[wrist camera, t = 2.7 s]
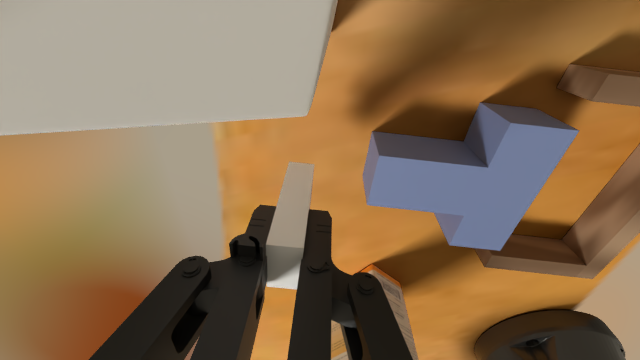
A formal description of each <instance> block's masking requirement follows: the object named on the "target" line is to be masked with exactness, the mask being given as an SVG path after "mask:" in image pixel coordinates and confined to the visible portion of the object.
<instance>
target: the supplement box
mask: <svg viewBox="0 0 640 360" xmlns="http://www.w3.org/2000/svg"><path fill="white" fill-rule="evenodd" d="M361 272H367V273H369V274H372V275H373V276H375V277H376V278H377V279H378V280H379V282H380V283H381V285H382V287H383V290H384V292H385V294H386V297H387V299H388V301H389V304H390V306H391V309H392V311H393V313H394V316H395V318H396V320H397V323H398V325H399V327H400V330H401V332H402V334H403V337H404V339H405V342H406V344H407V346H408V349H409V351H410V353H411V356H412V358H413V360H418V356H417V352H416V348H415V344H414V339H413V335H412V331H411V327H410V323H409V318H408V314H407V310H406V306H405V301H404V297H403V293H402V289H401V285H400V283H399V282H398V281H396V280H395V279H393V278H392V277H390V276H389V275H388V274H386V273H384V272H383V271H382V270H380V269H379V268H377V267H376V266H374V265H373V264H371V265H370V266H368V267H366V268H365V269H364V270H362V271H361ZM331 360H349V358H348V354H347V350H346V346H345V342H344V338H343V334H342V330H341V326H340V324H339V323H337V322H335V321H332V320H331Z"/></svg>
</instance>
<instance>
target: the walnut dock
mask: <svg viewBox="0 0 640 360" xmlns="http://www.w3.org/2000/svg"><path fill="white" fill-rule="evenodd" d="M557 88H558V89H561V90H563V91H566V92H569V93H571V94H574V95H577V96H579V97H582V98H585V99H587V100H590V101H595V102H604V103H613V104H621V105H630V106H639V107H640V72H635V71H627V70H618V69H609V68H600V67H592V66H583V65H574V64H569V66H568V68H567V70H566V72H565V73H564V75H563V77H562V79H561V81H560V82H559V84H558V86H557ZM639 233H640V144H639V145H638V147H637V148H636V149H635V150H634V151H633V153H632V154H631V155H630V156H629V158H628V159H627V160H626V161H625V163H624V164H623V165H622V166H621V167H620V169H619V170H618V171H617V172H616V174H615V175H614V176H613V177H612V179H611V180H610V181H609V182H608V183H607V185H606V186H605V187H604V188H603V190H602V191H601V192H600V193H599V195H598V196H597V197H596V198H595V199H594V201H593V202H592V203H591V204H590V206H589V207H588V208H587V209H586V210H585V212H584V213H583V214H582V215H581V217H580V218H579V219H578V220H577V222H576V223H575V224H574V225H573V226H572V228H571V229H570V230H569V231H568V233H567V234H566V235H565V236H564V238H563V239H562V240H560V239H551V238H542V237H533V236H523V235H514V234H511V235H510V237H509V238H508V240H507V241H506V243H505V244H504V246H503V247H502V249H501V250H500V251H497V250H488V249H479V248H474V249H475V251H476V253H477V255H478V256H479V258H480V260H481V262H482V263H483V265H484V267H488V268H497V269H506V270H515V271H525V272H534V273H543V274H552V275H561V276H570V277H579V278H589V279H593V278H594V277H595V276H596V275H597V274H598V273H599V272H600V271H601V270H602V269H603V268H604V267H605V266H606V265H607V264H608V263H609V262H610V261H611V260H612V259H614V258H615V257H616V256H617V255H618V254H619V253H620V252H621V251H622V250H623V249H624V248H625V247H626V246H627V245H628V244H629V243H630V242H631V241H632V240H633V239H634V238H635V237H636V236H637V235H638V234H639Z"/></svg>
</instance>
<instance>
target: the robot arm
mask: <svg viewBox="0 0 640 360" xmlns="http://www.w3.org/2000/svg"><path fill="white" fill-rule="evenodd" d="M313 172H314V164H306V163H296V162H289V165H288V168H287V172H286V175H285V179H284V182H283V186H282V189H281V193H280V196H279V200H278V203H277V207H276V206H267V205H260V206H259V207H257V208H256V209H255V210H254V212H253V214H252V217H251V220H250V222H249V225H248V227H247V230H246V232H245V234H241V235H238V236H237V237H235V238H234V239H232V241H231V242H230V243H229V247H230V254H231V257H230V258H227V259H225V260H221V261H215V262H208V261H207V259H205V258H204V257H201V256H193V257H188V258H186V259H183V260H182V261H180V262H179V263H178V264H177V265H176V266H175V267H174V268H173V269H172V270H171V272H169V274H168V275H167V276H166V277H165V278H164V279H163V280H162V281H161V282H160V283H159V284H158V285H157V286H156V287H155V289H154V290H153V291H152V292H151V293H150V294H149V295H148V296H147V297H146V298H145V299H144V300H143V302H142V303H141V304H140V305H139V306H138V307H137V308H136V309H135V310H134V311H133V312H132V313H131V315H130V316H129V317H128V318H127V319H126V320H125V321H124V322H123V323H122V324H121V325H120V326H119V328H117V330H116V331H115V332H114V333H113V334H112V335H111V336H110V337H109V338H108V339H107V341H105V343H104V344H103V345H102V346H101V347H100V348H99V349H98V350H97V351H96V352H95V353H94V354H93V356H92V357H91V358H90V359H89V360H184V359H185V357H186V356H187V354H188V353H189V351H190V350H191V348H192V347H193V345H194V343H195V342H196V340H197V339H198V337H199V339H198V341H197V344H196V346H195V349H194V351H193V354H192V356H191V359H190V360H250V358H251V353H252V349H253V345H254V341H255V336H256V332H257V328H258V324H259V319H260V315H261V311H262V307H263V302H264V290H265V286H266V282H267V287H277V288H287V289H297V293H296V301H295V308H294V315H293V323H292V330H291V337H290V345H289V352H288V359H287V360H331V320H332V321H335V322H337V323H339V324H340V326H341V330H342V334H343V338H344V342H345V346H346V350H347V354H348V358H349V360H413V358H412V356H411V353H410V351H409V349H408V346H407V344H406V342H405V339H404V337H403V334H402V332H401V330H400V327H399V325H398V323H397V320H396V318H395V316H394V313H393V311H392V309H391V306H390V304H389V301H388V299H387V297H386V294H385V292H384V290H383V287H382V285H381V283H380V282H379V280H378V279H377V278H376V277H375V276H373V275H372V274H369V273H367V272H359V273H355V274H354V275H353V276H352V275H349V274H347V273H344V272H342V271H341V270H339V269H338V268H337V267H336V266H335V265H334V264H333V262H332V259H331V231H332V218H331V216H330V214H329V212H328V211H321V210H311V209H310V203H311V193H312V183H313ZM474 352H475V355H476V358H477V360H626V359H625V352H624V349H623V347H622V344H621V343H620V341H619V340H618V339H617V338H616V336H615V335H614V334H613V333H612V332H611V330H610V329H609V328H608V327H607V326H606V324H605V323H604V322H603V321H601V320H600V319H599V318H597V317H595V316H593V315H590V314H587V313H583V312H578V311H569V310H551V311H541V312H534V313H529V314H525V315H521V316H518V317H514V318H511V319H509V320H506V321H504V322H501V323H499V324H497V325H495V326H494V327H492V328H490V329H489V330H487V331H486V332H485V333H484V334H483V335H482V336H481V337H480V338H479V339H478V340H477V342H476V344H475V347H474Z"/></svg>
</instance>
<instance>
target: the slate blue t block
mask: <svg viewBox="0 0 640 360" xmlns="http://www.w3.org/2000/svg"><path fill="white" fill-rule="evenodd" d="M578 132H579V130H577V129H575V128H573V127H571V126H569V125H567V124H565V123H563V122H561V121H559V120H557V119H556V118H554V117H552V116H550V115H548V114H546V113H544V112H542V111H540V110H538V109H534V108H525V107H517V106H508V105H499V104H490V103H481V102H480V104H479V106H478V109H477V111H476V113H475V116H474V118H473V120H472V123H471V125H470V128H469V130H468V132H467V135H466V137H465V139H464V141H455V140H446V139H437V138H428V137H419V136H410V135H402V134H393V133H384V132H375V131H372V135H371V139H370V144H369V149H368V153H367V158H366V163H365V167H364V172H363V181H364V188H365V195H366V201H367V205H372V206H381V207H390V208H399V209H408V210H417V211H426V212H434V214H435V216H436V218H437V220H438V222H439V224H440V227H441V229H442V231H443V233H444V235H445V237H446V240H447V242H448V244H449V245H452V246H461V247H470V248H479V249H488V250H497V251H500V250H501V249H502V247H503V246H504V244H505V243H506V241H507V240H508V238H509V237H510V235H511V234H512V232H513V231H514V229H515V228H516V226H517V224H518V223H519V221H520V220H521V218H522V217H523V215H524V214H525V212H526V211H527V209H528V208H529V206H530V205H531V203H532V202H533V200H534V199H535V197H536V196H537V194H538V193H539V191H540V190H541V188H542V187H543V185H544V184H545V182H546V181H547V179H548V178H549V176H550V174H551V173H552V171H553V170H554V168H555V167H556V165H557V164H558V162H559V161H560V159H561V158H562V156H563V155H564V153H565V152H566V150H567V149H568V147H569V146H570V144H571V143H572V141H573V140H574V138H575V137H576V135H577V134H578Z"/></svg>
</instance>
